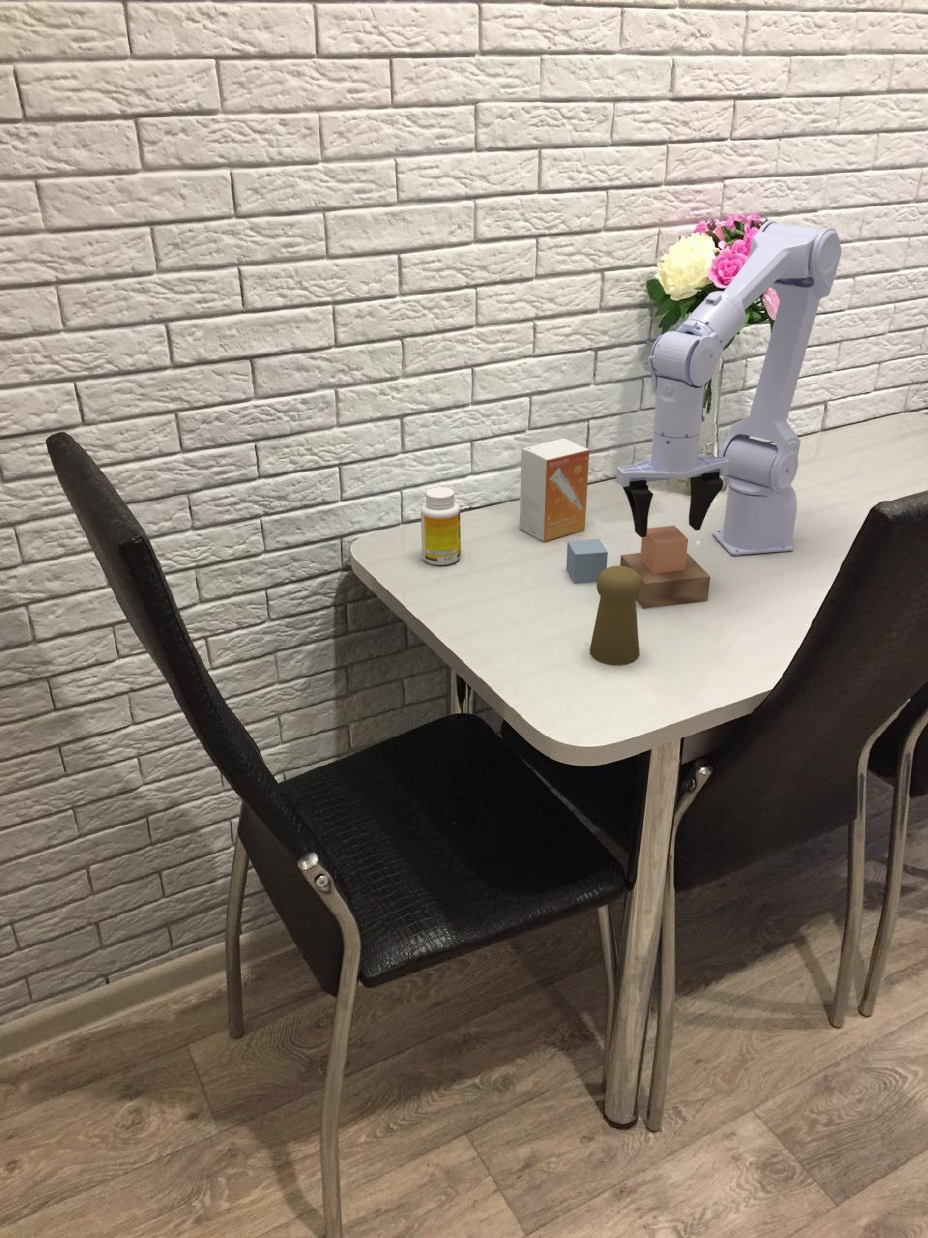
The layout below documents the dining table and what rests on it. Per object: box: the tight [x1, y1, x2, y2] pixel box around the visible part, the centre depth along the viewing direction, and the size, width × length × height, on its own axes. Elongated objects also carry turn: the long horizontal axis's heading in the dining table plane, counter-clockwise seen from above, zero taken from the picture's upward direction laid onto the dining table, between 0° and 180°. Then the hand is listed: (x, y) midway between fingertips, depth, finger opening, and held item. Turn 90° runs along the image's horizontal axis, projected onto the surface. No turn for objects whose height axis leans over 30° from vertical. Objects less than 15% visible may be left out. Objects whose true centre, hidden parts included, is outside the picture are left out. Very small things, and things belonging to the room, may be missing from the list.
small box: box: [519, 438, 590, 542], centre depth 154 cm, size 8×6×13 cm
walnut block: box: [619, 552, 711, 610], centre depth 139 cm, size 9×9×4 cm
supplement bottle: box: [420, 486, 462, 566], centre depth 146 cm, size 6×6×10 cm
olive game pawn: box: [589, 565, 642, 666], centre depth 122 cm, size 6×6×11 cm
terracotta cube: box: [640, 525, 689, 574], centre depth 137 cm, size 4×4×4 cm
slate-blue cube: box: [565, 538, 609, 585], centre depth 143 cm, size 4×4×4 cm
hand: (667, 530), depth 135 cm, fingers open, 7 cm apart
